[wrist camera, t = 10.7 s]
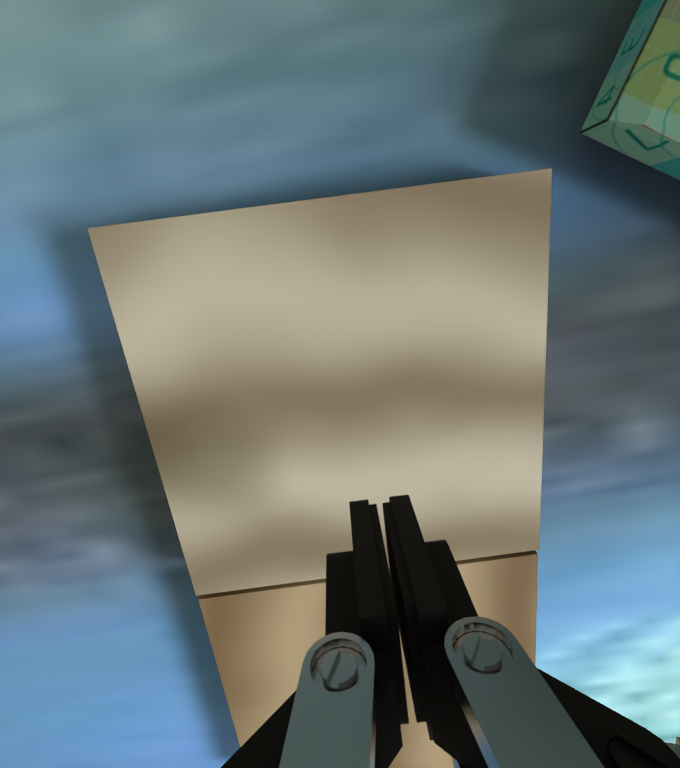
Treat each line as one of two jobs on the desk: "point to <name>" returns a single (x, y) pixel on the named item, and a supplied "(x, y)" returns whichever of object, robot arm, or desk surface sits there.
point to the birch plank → (340, 369)
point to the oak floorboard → (307, 625)
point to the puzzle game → (643, 91)
